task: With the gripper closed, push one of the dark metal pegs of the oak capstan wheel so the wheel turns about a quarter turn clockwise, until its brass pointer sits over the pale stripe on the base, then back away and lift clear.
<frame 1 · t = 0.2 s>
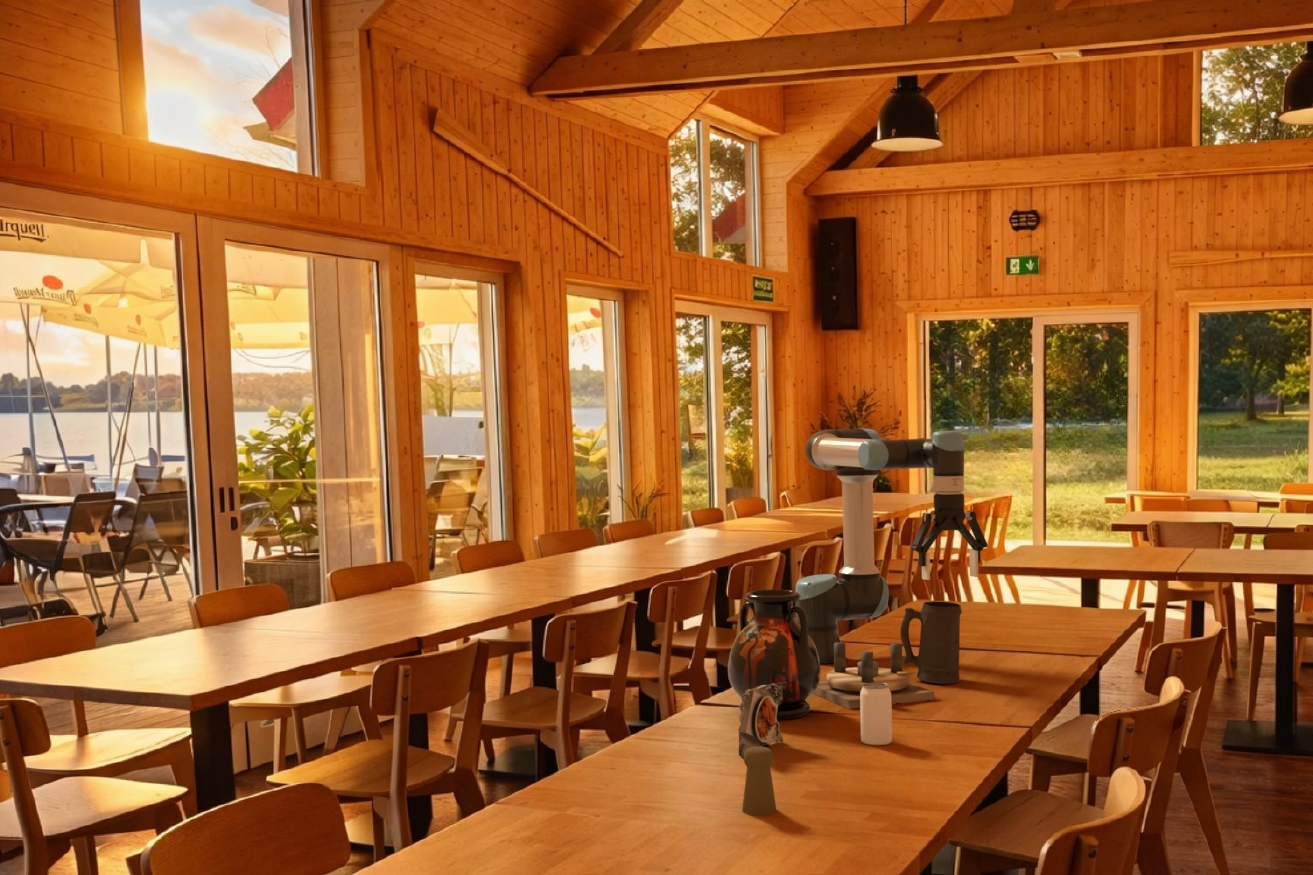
hand: (950, 577, 324), 28 cm above the table, tool pointing down, fingers open, 13 cm apart
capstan: (868, 664, 318), point 7 cm above the table, hinge at 0.0°
stand: (868, 694, 318), on the table
meal: (764, 750, 268), on the table
beer stein: (931, 681, 334), on the table
cork: (759, 811, 227), on the table
can: (876, 743, 272), on the table
amphora vase: (774, 713, 301), on the table
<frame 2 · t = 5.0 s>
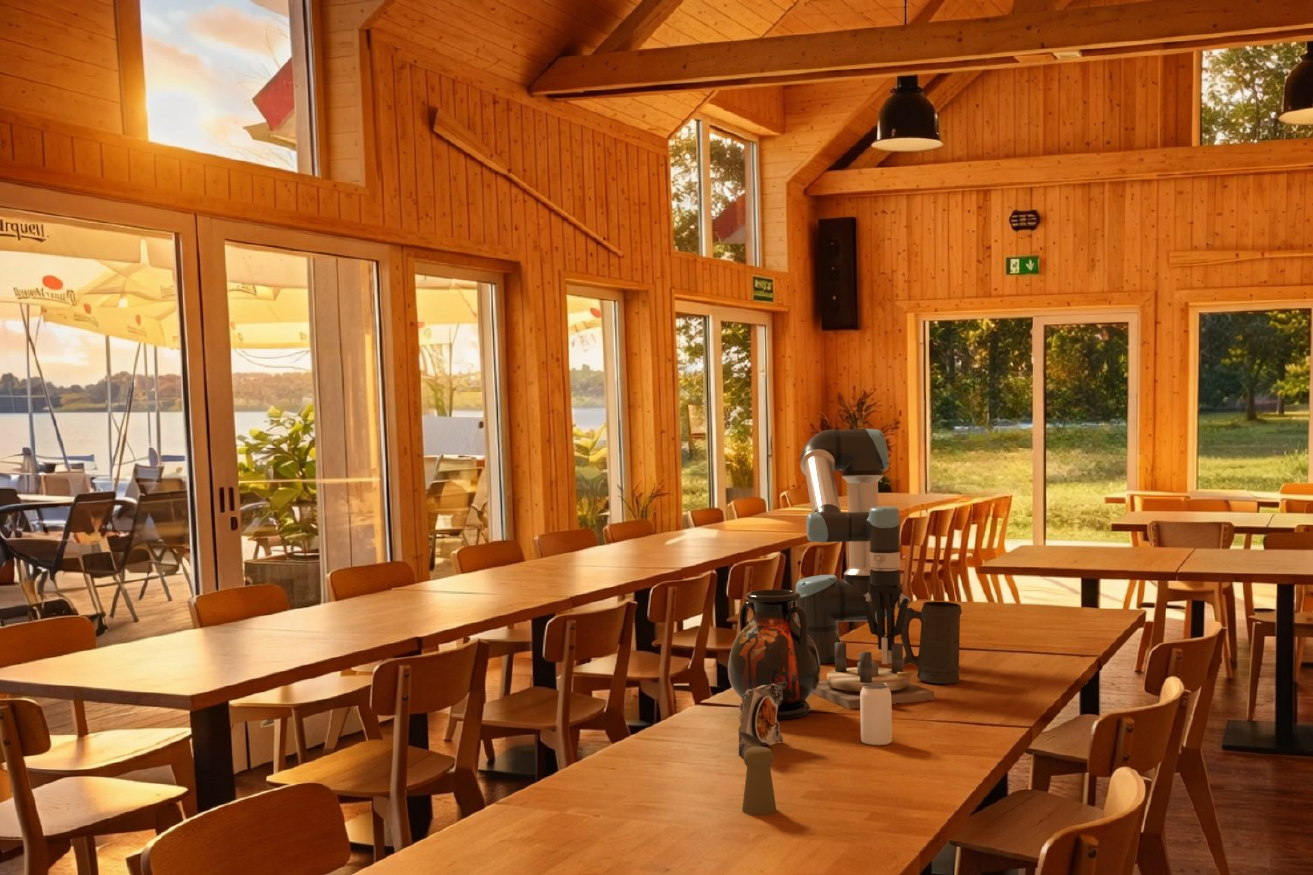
hand: (886, 662, 324), 7 cm above the table, tool pointing down, fingers closed
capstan: (868, 664, 318), point 7 cm above the table, hinge at -2.7°, touching gripper
everything else where it was.
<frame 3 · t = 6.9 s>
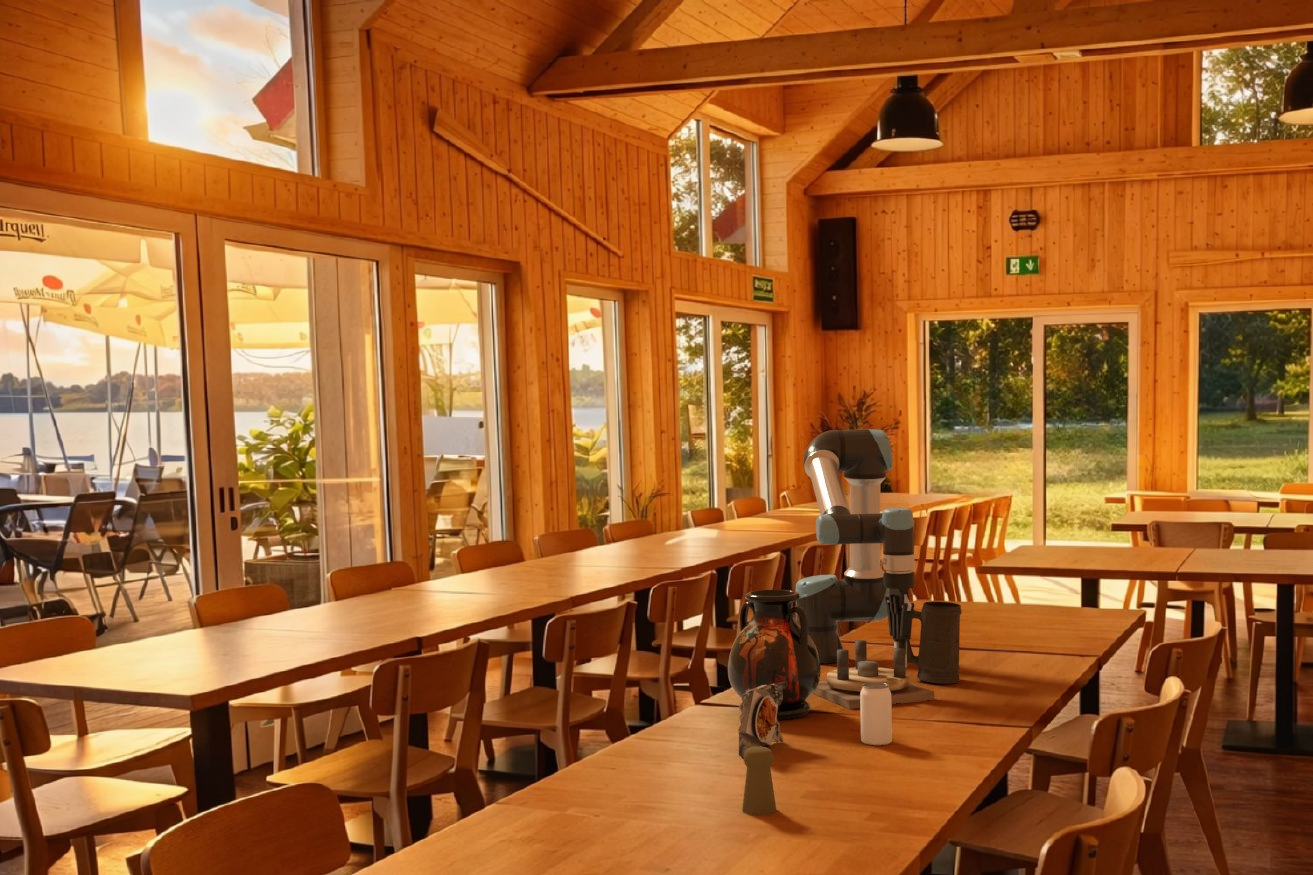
hand: (900, 667, 318), 7 cm above the table, tool pointing down, fingers closed
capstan: (868, 664, 318), point 7 cm above the table, hinge at -47.1°, touching gripper
everything else where it was.
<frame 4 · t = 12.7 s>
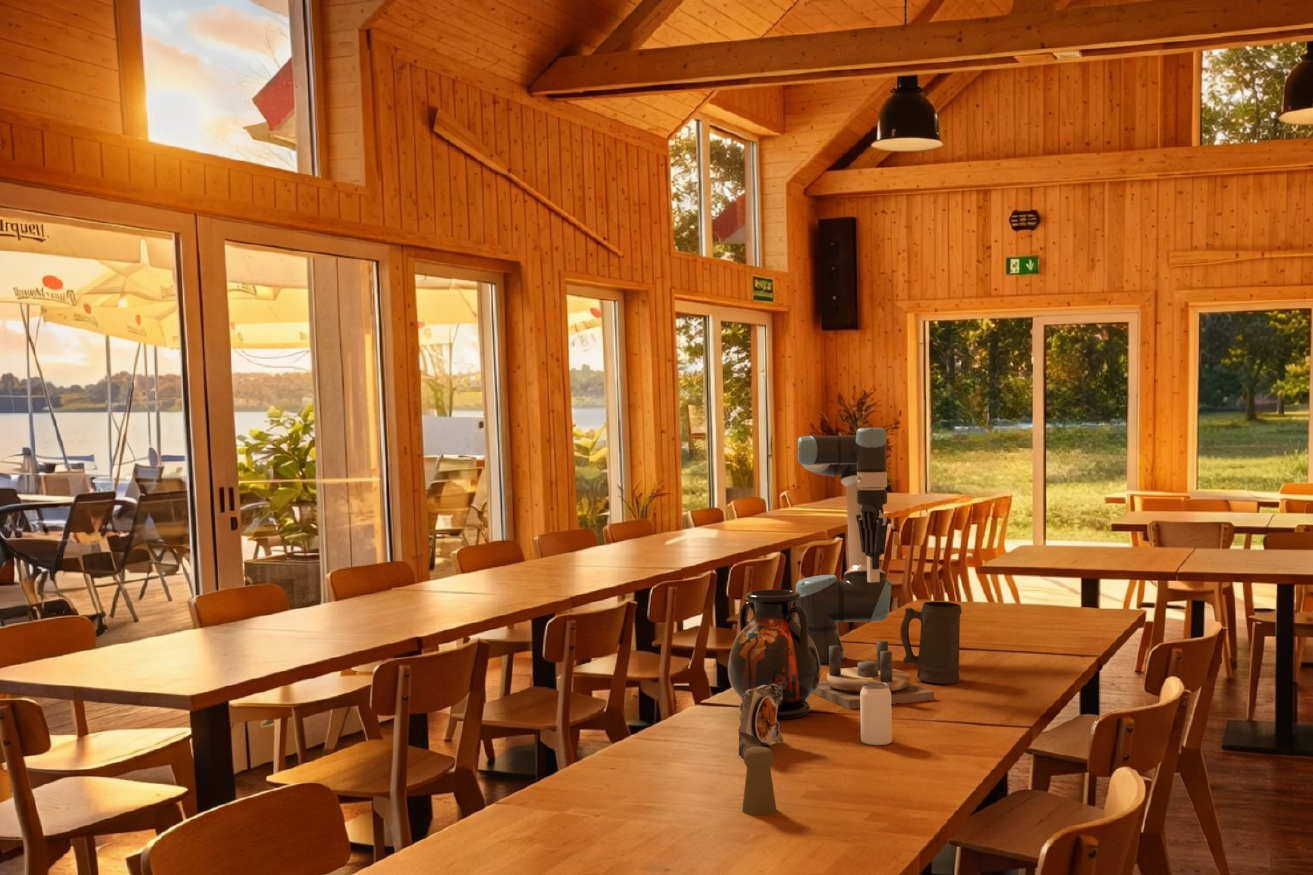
hand: (873, 581, 329), 26 cm above the table, tool pointing down, fingers closed
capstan: (868, 664, 318), point 7 cm above the table, hinge at -86.4°
everything else where it was.
at the end: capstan at -86° (first picture: +0°) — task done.
